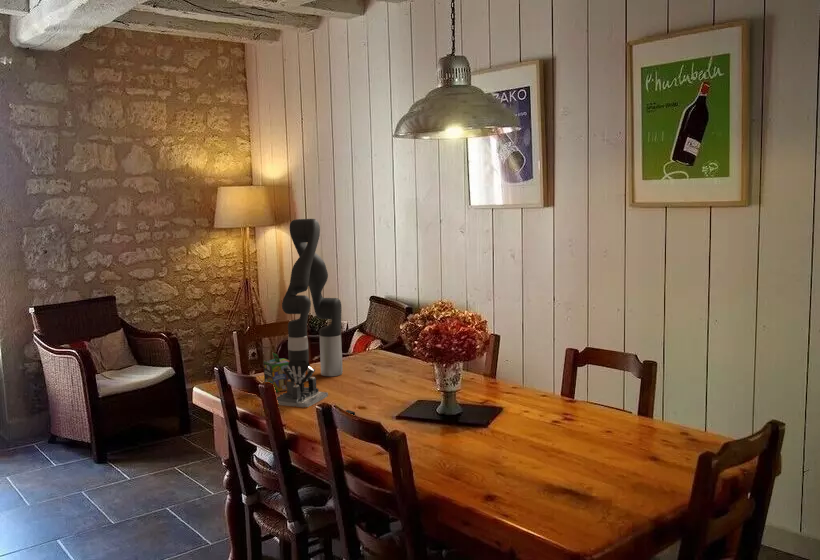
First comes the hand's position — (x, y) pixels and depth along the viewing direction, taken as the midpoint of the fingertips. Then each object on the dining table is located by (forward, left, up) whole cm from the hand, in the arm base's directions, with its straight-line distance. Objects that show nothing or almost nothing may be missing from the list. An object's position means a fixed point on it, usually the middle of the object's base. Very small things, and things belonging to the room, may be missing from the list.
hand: (300, 392), depth 282 cm
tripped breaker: (0, -4, -1) cm, 4 cm away
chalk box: (-11, -16, -3) cm, 20 cm away
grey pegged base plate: (0, 0, -3) cm, 3 cm away
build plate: (+20, +30, -4) cm, 36 cm away
